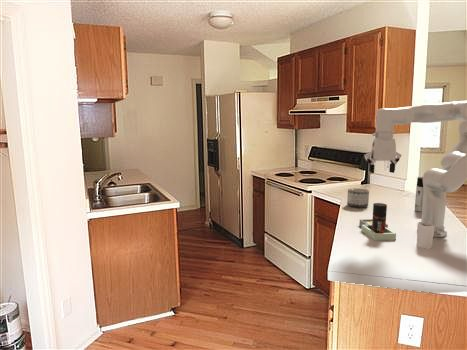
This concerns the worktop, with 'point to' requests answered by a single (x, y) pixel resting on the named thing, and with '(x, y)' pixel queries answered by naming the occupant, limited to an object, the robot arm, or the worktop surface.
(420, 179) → the spray can
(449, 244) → the worktop surface
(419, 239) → the white square cup
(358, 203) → the planter
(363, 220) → the cradle housing
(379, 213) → the deodorant
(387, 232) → the trough
